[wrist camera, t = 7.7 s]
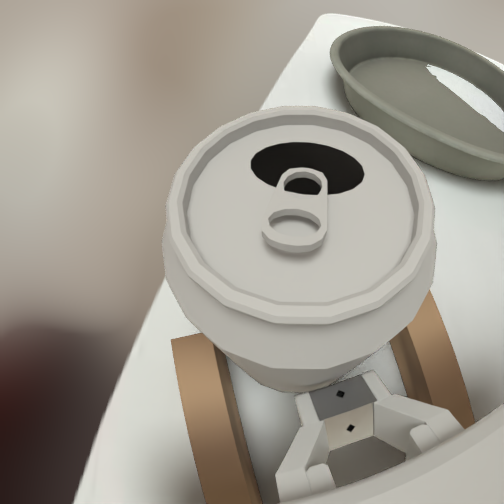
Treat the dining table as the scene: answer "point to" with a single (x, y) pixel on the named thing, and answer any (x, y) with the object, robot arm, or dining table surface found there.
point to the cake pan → (423, 97)
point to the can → (299, 242)
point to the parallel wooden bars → (228, 420)
